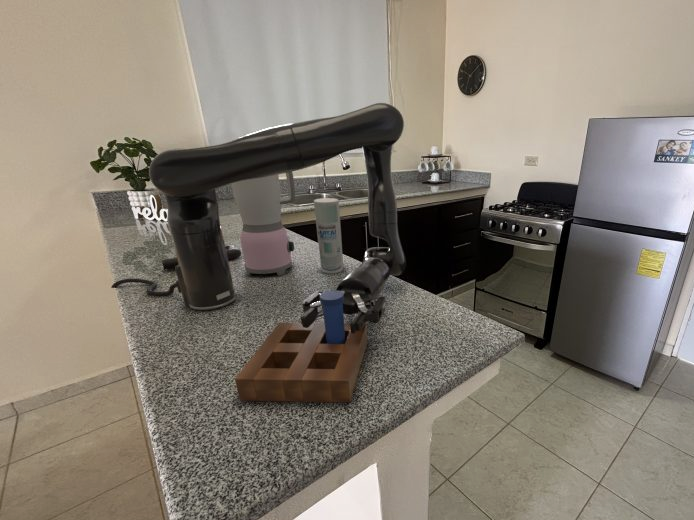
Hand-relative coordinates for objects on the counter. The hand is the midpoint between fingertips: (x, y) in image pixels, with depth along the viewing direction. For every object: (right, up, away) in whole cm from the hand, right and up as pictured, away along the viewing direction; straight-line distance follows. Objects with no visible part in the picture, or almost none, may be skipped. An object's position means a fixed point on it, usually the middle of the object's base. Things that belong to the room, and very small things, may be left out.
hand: (328, 325), depth 57 cm
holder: (-3, -7, +1) cm, 8 cm away
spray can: (-11, +10, +44) cm, 46 cm away
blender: (-27, +10, +43) cm, 52 cm away
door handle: (-53, +13, +50) cm, 74 cm away
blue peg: (0, -6, +5) cm, 8 cm away
